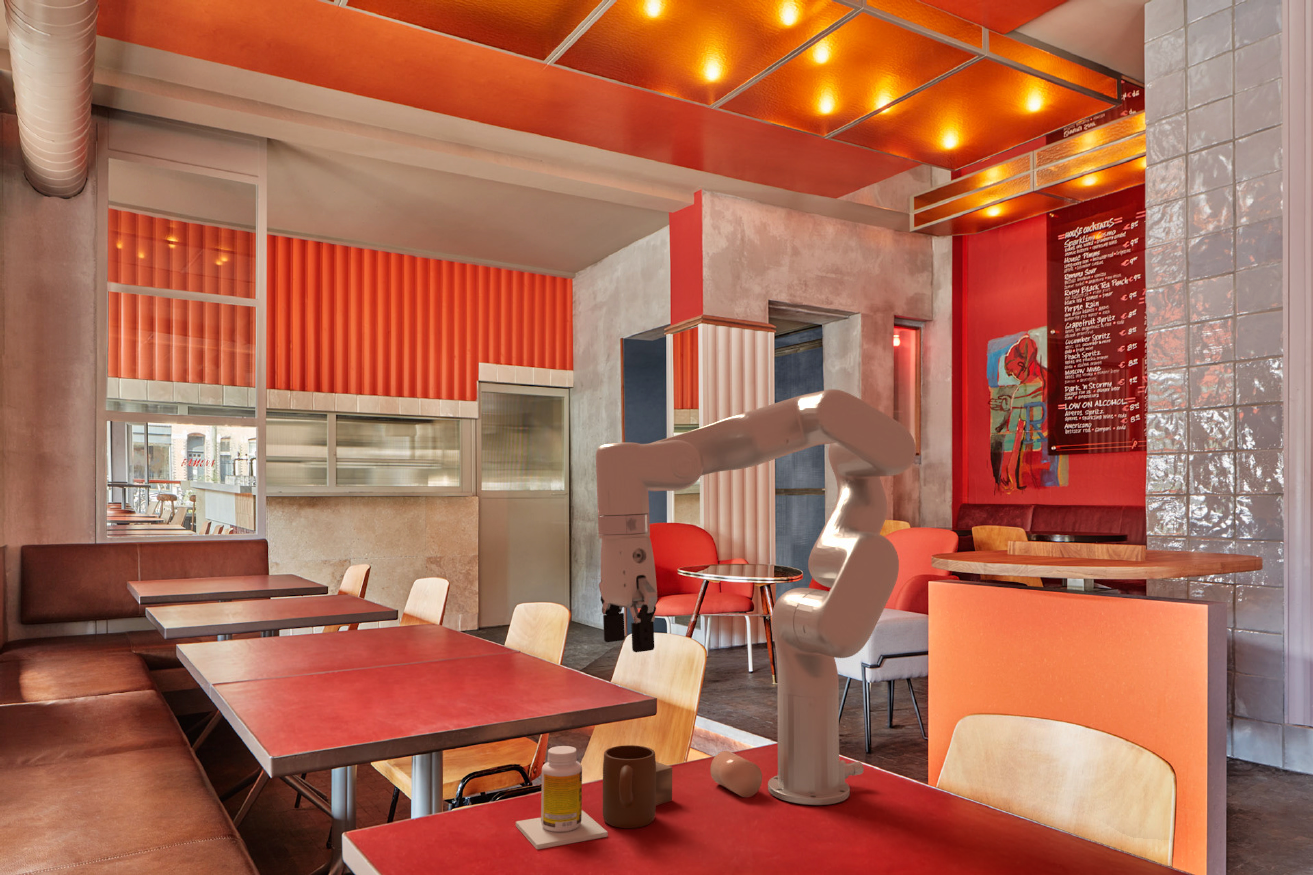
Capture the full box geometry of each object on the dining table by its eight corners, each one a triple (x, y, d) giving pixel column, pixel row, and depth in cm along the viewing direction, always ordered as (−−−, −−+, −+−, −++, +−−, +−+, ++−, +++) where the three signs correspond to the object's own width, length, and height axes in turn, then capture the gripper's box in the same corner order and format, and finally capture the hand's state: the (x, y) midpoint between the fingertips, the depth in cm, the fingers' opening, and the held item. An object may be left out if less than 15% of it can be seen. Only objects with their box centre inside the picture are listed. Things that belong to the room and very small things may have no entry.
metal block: (650, 792, 132) (650, 759, 133) (672, 800, 128) (672, 767, 129) (625, 799, 129) (626, 765, 129) (647, 808, 125) (647, 773, 125)
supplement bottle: (586, 830, 114) (587, 753, 115) (546, 835, 113) (547, 757, 113) (575, 816, 120) (576, 742, 120) (536, 821, 118) (538, 745, 119)
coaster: (582, 814, 122) (582, 810, 122) (607, 836, 114) (607, 831, 114) (515, 825, 118) (515, 821, 118) (536, 849, 110) (537, 844, 110)
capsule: (708, 783, 135) (735, 784, 137) (731, 797, 129) (759, 797, 131) (712, 750, 136) (739, 751, 138) (736, 761, 130) (764, 762, 132)
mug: (653, 843, 112) (653, 770, 113) (596, 841, 112) (597, 768, 113) (656, 810, 124) (657, 744, 125) (605, 809, 124) (605, 743, 125)
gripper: (674, 527, 117) (679, 651, 116) (622, 524, 133) (626, 634, 132) (625, 530, 114) (630, 658, 113) (577, 527, 129) (581, 640, 128)
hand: (628, 645), depth 122 cm, fingers open, 9 cm apart
